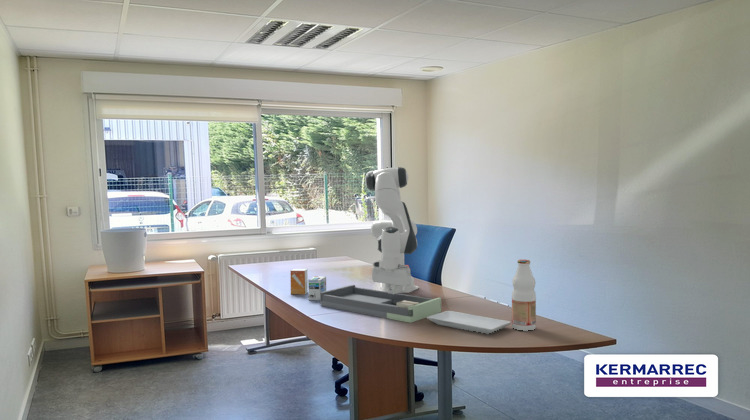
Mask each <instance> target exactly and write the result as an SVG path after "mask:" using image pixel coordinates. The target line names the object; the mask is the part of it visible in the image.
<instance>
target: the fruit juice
mask: <svg viewBox="0 0 750 420" xmlns="http://www.w3.org/2000/svg"><path fill="white" fill-rule="evenodd" d="M517 265H518V266H517V268H516V271H515V274H514V276H513V278H512V279H511V280H512V281H511V284H512V288H513V289H512V293H511V328H512V329H513V328H514V329H513V330H515V329H517V330H516V331H518V330H523V331H522V332H529V331H528V330H533V331H535V330H536V327H537V326H536V325H537V324H536V323H537V319H536V318H537V316H536V315H537V314H536V313H537V304H536V303H537V297H536V296H537V294H536V291H535V287H536V278H535V277H534V275H533V272H532V271H531V270H532V269H531V260H530V259H518V260H517ZM534 329H535V330H534Z"/></svg>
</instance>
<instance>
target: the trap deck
mask: <svg viewBox="0 0 750 420" xmlns="http://www.w3.org/2000/svg"><path fill="white" fill-rule="evenodd" d="M320 300H321V301H320V306H321V307H325V308H331V309H337V310H341V311H342V310H343V311H347V312H352V313H359V314H364V315H367V316H374V317H378V318H384V319H388V320H389V319H390V320H394V321H400V322H405V323H414V322H416V321H420V320H423V319H425V318H426V319H427V317H428V316H432V315H435V314H438V313H441V312H442V297H436V298H430V297H425V296H424V297H423V296H417V295H411V294H406V293H395V294H389V293H388V292H385V291H381V290H376V289H371V288H370V289H369V288H365V287H358V286H356V285H355V284H351V285H346V286H342V287H338V288H334V289H333V288H332V289H329V290H326V291H324V292H320ZM404 300H405V301H411V302H417V303H419V304H416V305H413V306H410V307H408V308H402V307H396V303H398V302H401V301H404Z"/></svg>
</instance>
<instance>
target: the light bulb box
mask: <svg viewBox="0 0 750 420" xmlns="http://www.w3.org/2000/svg"><path fill="white" fill-rule="evenodd" d="M324 291H327V276H323V275H322V276H320V275H319V276H318V275H317V276H316V275H315V276H312V277H310V278H308V301H320V302H321V300H320V292H324Z"/></svg>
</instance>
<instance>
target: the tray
mask: <svg viewBox="0 0 750 420" xmlns="http://www.w3.org/2000/svg"><path fill="white" fill-rule="evenodd" d="M426 319H427V320H429V321H431V322H433V323H435V324H436V325H439V326H442V327H443V326H444V327H448V328H452V329H459V330H463V329H464V331H468V330H469V332H473V331H476V332H475V333H478V332H481V333H480V334H483V333H486V334H485V335H490V334H489V333H491V334H493V333H495V332H494V331H496V332H498V331H500V330H499V329H501V330H502V329H504V328H506V327H507V326H509V325H510V324H511V325H512V321H510V320H505V319H499V318H493V317H487V316H481V315H475V314H470V313H465V312H460V311H459V312H458V311H453V310H445V311H441V312H440V313H437V314H434V315H431V316H428V317H426ZM497 330H498V331H497ZM492 332H493V333H492Z"/></svg>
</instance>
